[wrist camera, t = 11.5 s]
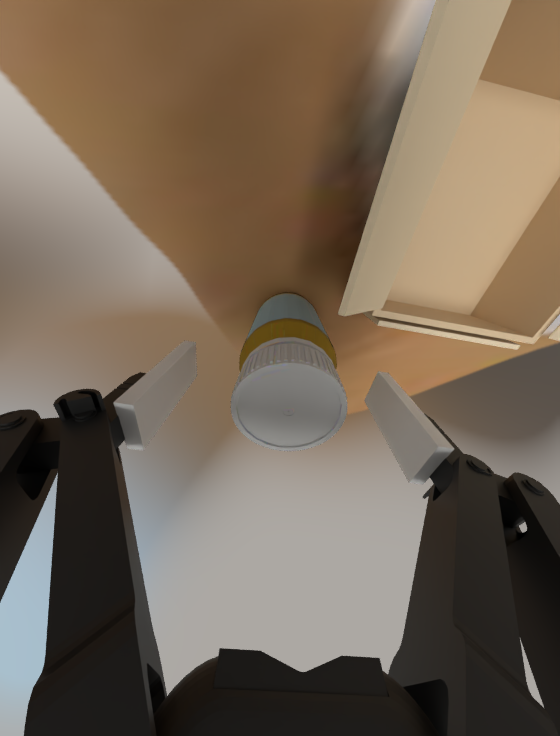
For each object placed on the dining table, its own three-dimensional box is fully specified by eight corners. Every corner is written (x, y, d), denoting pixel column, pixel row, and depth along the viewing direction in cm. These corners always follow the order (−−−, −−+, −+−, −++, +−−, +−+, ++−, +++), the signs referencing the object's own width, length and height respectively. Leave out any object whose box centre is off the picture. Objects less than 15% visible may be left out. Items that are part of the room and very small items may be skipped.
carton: (430, 42, 14) (546, -123, 8) (614, 92, 15) (847, -19, 9) (345, 303, 22) (368, 323, 16) (463, 325, 23) (527, 351, 17)
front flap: (616, -504, 3) (581, -465, 4) (344, 316, 11) (337, 314, 11) (540, -70, 8) (526, -62, 8) (382, 308, 15) (377, 306, 15)
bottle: (328, 308, 23) (386, 386, 10) (299, 358, 26) (314, 468, 13) (270, 280, 21) (247, 328, 8) (248, 337, 25) (207, 435, 12)
